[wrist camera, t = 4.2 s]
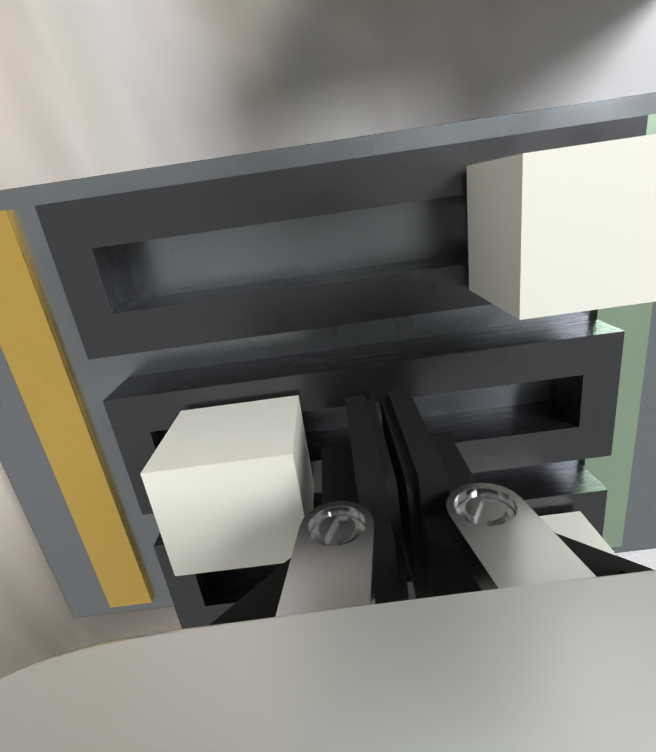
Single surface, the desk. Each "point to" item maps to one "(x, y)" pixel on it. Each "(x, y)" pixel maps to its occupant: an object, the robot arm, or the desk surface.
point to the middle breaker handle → (231, 485)
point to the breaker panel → (300, 339)
